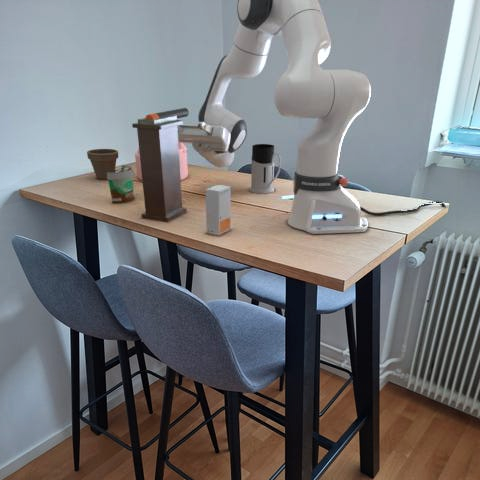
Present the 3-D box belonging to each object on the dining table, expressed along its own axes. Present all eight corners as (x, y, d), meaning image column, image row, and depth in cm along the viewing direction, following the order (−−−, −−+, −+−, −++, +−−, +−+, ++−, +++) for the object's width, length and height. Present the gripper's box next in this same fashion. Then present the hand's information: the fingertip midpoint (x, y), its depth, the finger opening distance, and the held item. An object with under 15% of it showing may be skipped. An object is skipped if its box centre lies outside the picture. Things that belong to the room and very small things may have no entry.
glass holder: (264, 185, 172) (266, 142, 165) (289, 194, 162) (291, 149, 154) (245, 189, 168) (245, 145, 160) (268, 198, 158) (270, 151, 150)
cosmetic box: (219, 236, 125) (218, 191, 119) (206, 233, 127) (204, 188, 121) (231, 229, 130) (231, 186, 124) (218, 227, 132) (217, 184, 126)
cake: (142, 171, 192) (139, 134, 185) (191, 171, 192) (189, 134, 185) (132, 183, 175) (128, 143, 168) (186, 183, 175) (183, 143, 168)
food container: (128, 205, 150) (124, 173, 145) (110, 204, 151) (106, 172, 146) (142, 195, 160) (139, 165, 155) (126, 194, 161) (122, 164, 156)
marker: (180, 113, 140) (183, 106, 138) (187, 118, 140) (189, 110, 138) (144, 121, 125) (147, 112, 123) (151, 126, 125) (154, 117, 123)
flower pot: (126, 175, 186) (123, 148, 181) (113, 182, 177) (109, 154, 172) (99, 173, 189) (95, 147, 184) (85, 180, 179) (81, 153, 174)
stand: (163, 207, 148) (155, 114, 134) (187, 211, 145) (182, 115, 131) (141, 218, 139) (131, 118, 125) (167, 222, 135) (159, 120, 122)
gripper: (180, 130, 158) (159, 111, 146) (235, 133, 151) (218, 114, 138) (176, 148, 159) (155, 131, 146) (231, 153, 151) (214, 135, 138)
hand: (186, 123), depth 142 cm, fingers open, 8 cm apart
